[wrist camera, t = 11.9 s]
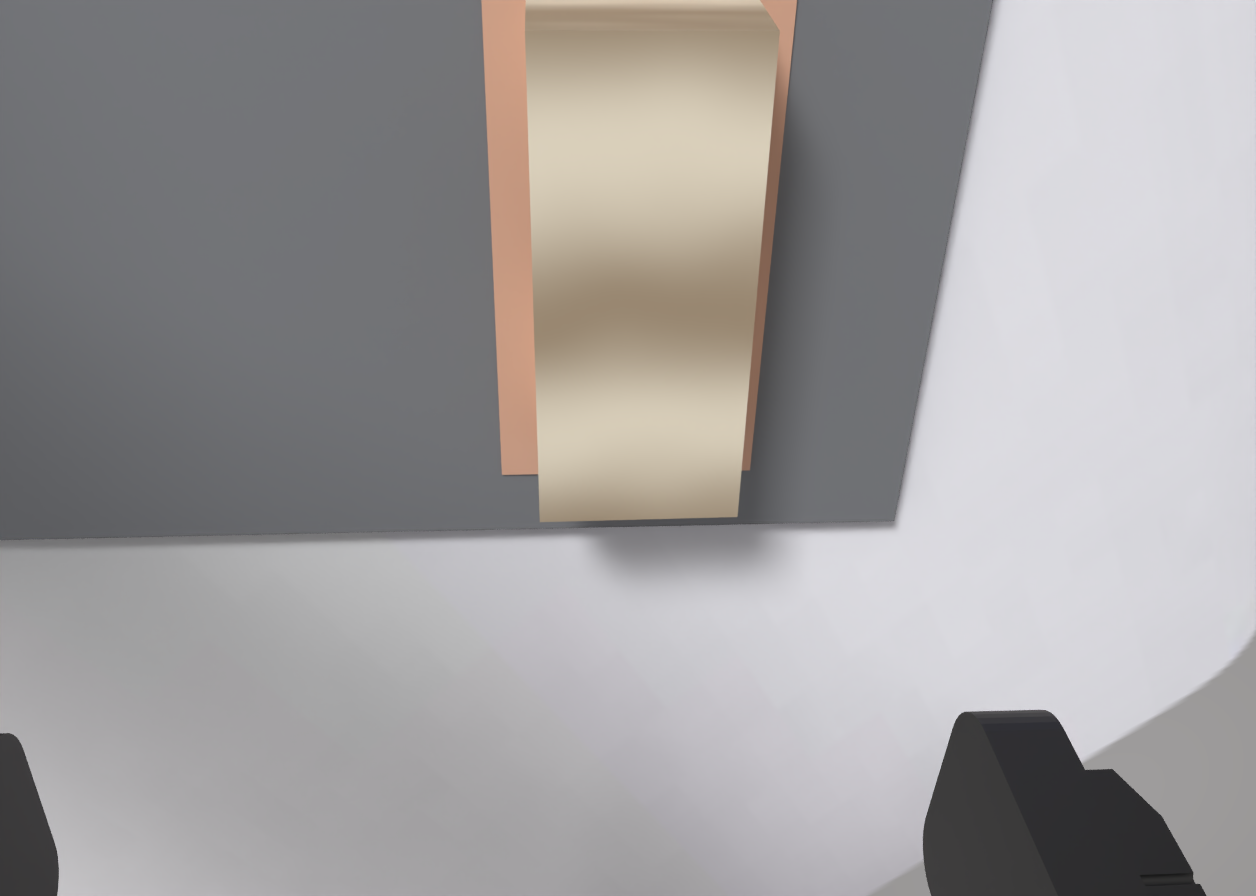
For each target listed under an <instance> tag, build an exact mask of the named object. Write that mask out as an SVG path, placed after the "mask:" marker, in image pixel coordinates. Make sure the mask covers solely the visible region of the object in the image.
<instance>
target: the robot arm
mask: <svg viewBox="0 0 1256 896" xmlns="http://www.w3.org/2000/svg"><path fill="white" fill-rule="evenodd" d="M923 855H924V865H925V871H926V877H927V882H928V886H929V889H930V893H931V896H1206V894H1205V892H1204V890H1203V889H1202V887H1201V885H1200V884H1195V882H1194V880H1193V871H1192V869H1191V867H1190V866H1189V864H1188V862H1187V860H1186V858H1185V857H1184V855H1183V853H1182V851H1181V850H1180V848H1179V846H1178V844H1177V842H1176V841H1175V839H1174V837H1173V836H1172V834H1171V832H1170V830H1169V828H1168V827H1167V825H1166V823H1165V821H1164V819H1163V818H1162V816H1161V815H1160V814H1159V813H1158V812H1157V811H1155V810H1154V809H1153V808H1152V807H1151V806H1150V805H1149V804H1148V803H1147V802H1146V801H1145V800H1144V799H1143V798H1142V797H1141V796H1140V795H1139V794H1138V793H1137V792H1136V791H1135V790H1134V789H1132V788H1131V787H1130V786H1129V785H1128V784H1127V783H1126V782H1125V781H1124V780H1123V779H1122V778H1121V777H1120V776H1119V775H1118V774H1117V773H1116V772H1115V771H1114V770H1113V769H1105V770H1104V769H1103V770H1085V769H1084V767H1083V765H1082V763H1081V761H1080V759H1079V758H1078V756H1077V754H1076V752H1075V750H1074V748H1073V746H1072V744H1071V742H1070V740H1069V738H1068V736H1067V734H1066V732H1065V731H1064V729H1063V727H1062V725H1061V724H1060V722H1059V721H1058V719H1057V718H1056V717H1055V716H1054V715H1053V714H1052V713H1050V712H1048V711H1046V710H1017V711H979V712H964V713H961V714H960V715H959V716H958V718H957V719H956V721H955V724H954V726H953V729H952V733H951V736H950V739H949V743H948V746H947V749H946V752H945V756H944V759H943V762H942V766H941V769H940V772H939V776H938V779H937V782H936V786H935V789H934V792H933V795H932V799H931V802H930V805H929V809H928V812H927V815H926V819H925V824H924V831H923ZM58 879H59V867H58V856H57V850H56V846H55V843H54V840H53V837H52V834H51V831H50V828H49V825H48V822H47V819H46V816H45V813H44V810H43V807H42V804H41V801H40V798H39V795H38V792H37V789H36V786H35V783H34V780H33V777H32V774H31V771H30V768H29V765H28V762H27V759H26V756H25V753H24V750H23V748H22V745H21V743H20V742H19V740H18V739H17V737H15V736H14V735H12V734H10V733H3V734H0V896H57V892H58Z"/></svg>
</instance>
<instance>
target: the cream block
mask: <svg viewBox="0 0 1256 896" xmlns="http://www.w3.org/2000/svg"><path fill="white" fill-rule="evenodd" d="M779 36H780V30H779V29H778V27H777V26H776V24H775V22H774V21H773V19H772V18H771V16H770V15H769V13H768V12H767V10H766V9H765V7H764V6H763V4H762V3H761V1H760V0H526V7H525V50H526V83H527V116H528V149H529V182H530V215H531V248H532V281H533V314H534V347H535V380H536V413H537V446H538V479H539V512H540V522H565V521H603V520H642V519H680V518H718V517H737V516H738V505H739V493H740V482H741V471H742V459H743V448H744V436H745V425H746V413H747V402H748V391H749V379H750V368H751V356H752V345H753V333H754V322H755V311H756V299H757V288H758V276H759V265H760V253H761V242H762V231H763V219H764V208H765V196H766V185H767V173H768V162H769V150H770V139H771V128H772V116H773V105H774V93H775V82H776V70H777V59H778V48H779Z"/></svg>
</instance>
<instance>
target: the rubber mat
mask: <svg viewBox="0 0 1256 896" xmlns="http://www.w3.org/2000/svg"><path fill="white" fill-rule="evenodd" d="M760 1H761V3H762V4H763V6H764V7H765V9H766V10H767V12H768V13H769V15H770V16H771V18H772V19H773V21H774V22H775V24H776V26H777V27H778V29H779V30H780V36H779V48H778V59H777V70H776V82H775V93H774V105H773V116H772V128H771V139H770V150H769V162H768V173H767V185H766V196H765V208H764V219H763V231H762V242H761V253H760V265H759V276H758V288H757V299H756V311H755V322H754V333H753V345H752V356H751V368H750V379H749V391H748V402H747V413H746V425H745V436H744V448H743V459H742V471H741V482H740V493H739V505H738V516H737V517H718V518H680V519H642V520H603V521H565V522H540V512H539V479H538V446H537V413H536V380H535V347H534V314H533V281H532V248H531V215H530V182H529V149H528V116H527V83H526V50H525V7H526V0H0V540H24V539H71V538H118V537H165V536H212V535H259V534H306V533H353V532H400V531H447V530H494V529H541V528H588V527H635V526H682V525H729V524H776V523H823V522H870V521H894V519H895V514H896V509H897V503H898V498H899V493H900V487H901V482H902V477H903V472H904V466H905V461H906V456H907V451H908V445H909V440H910V435H911V429H912V424H913V419H914V414H915V408H916V403H917V398H918V392H919V387H920V382H921V377H922V371H923V366H924V361H925V356H926V350H927V345H928V340H929V334H930V329H931V324H932V319H933V313H934V308H935V303H936V297H937V292H938V287H939V282H940V276H941V271H942V266H943V260H944V255H945V250H946V245H947V239H948V234H949V229H950V224H951V218H952V213H953V208H954V202H955V197H956V192H957V187H958V181H959V176H960V171H961V165H962V160H963V155H964V150H965V144H966V139H967V134H968V128H969V123H970V118H971V113H972V107H973V102H974V97H975V92H976V86H977V81H978V76H979V70H980V65H981V60H982V55H983V49H984V44H985V39H986V33H987V28H988V23H989V18H990V12H991V7H992V2H993V0H760Z"/></svg>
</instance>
